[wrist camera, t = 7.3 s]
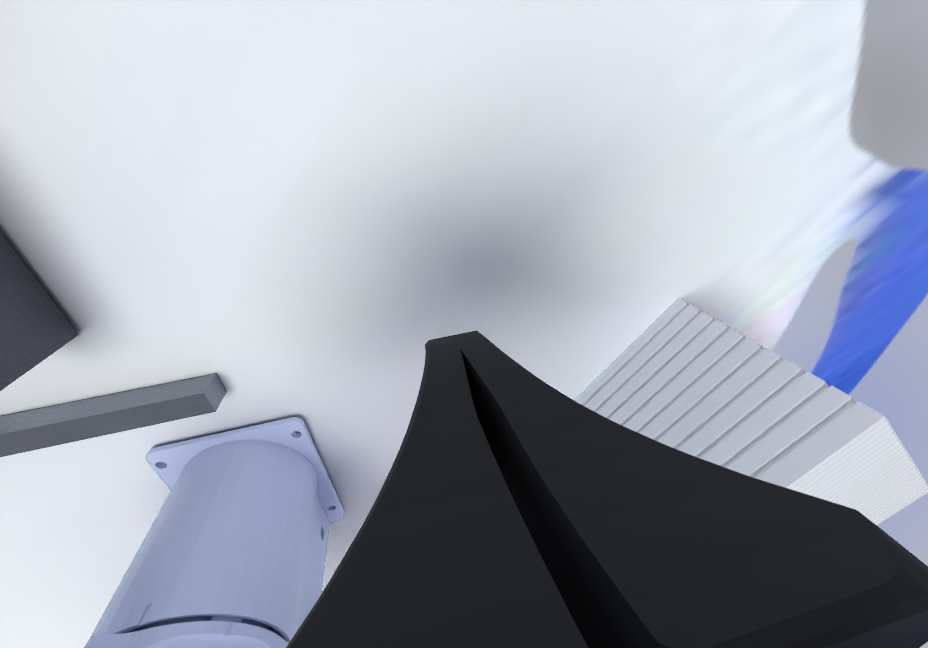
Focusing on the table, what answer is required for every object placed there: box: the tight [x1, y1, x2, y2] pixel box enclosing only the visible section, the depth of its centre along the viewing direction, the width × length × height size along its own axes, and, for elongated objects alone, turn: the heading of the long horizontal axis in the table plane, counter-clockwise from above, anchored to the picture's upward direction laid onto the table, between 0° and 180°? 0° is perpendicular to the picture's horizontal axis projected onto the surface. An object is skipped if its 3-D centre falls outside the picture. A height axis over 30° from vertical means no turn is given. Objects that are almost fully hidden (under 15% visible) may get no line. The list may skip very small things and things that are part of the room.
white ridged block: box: [574, 298, 928, 525], centre depth 24 cm, size 32×11×11 cm, turn 141°
